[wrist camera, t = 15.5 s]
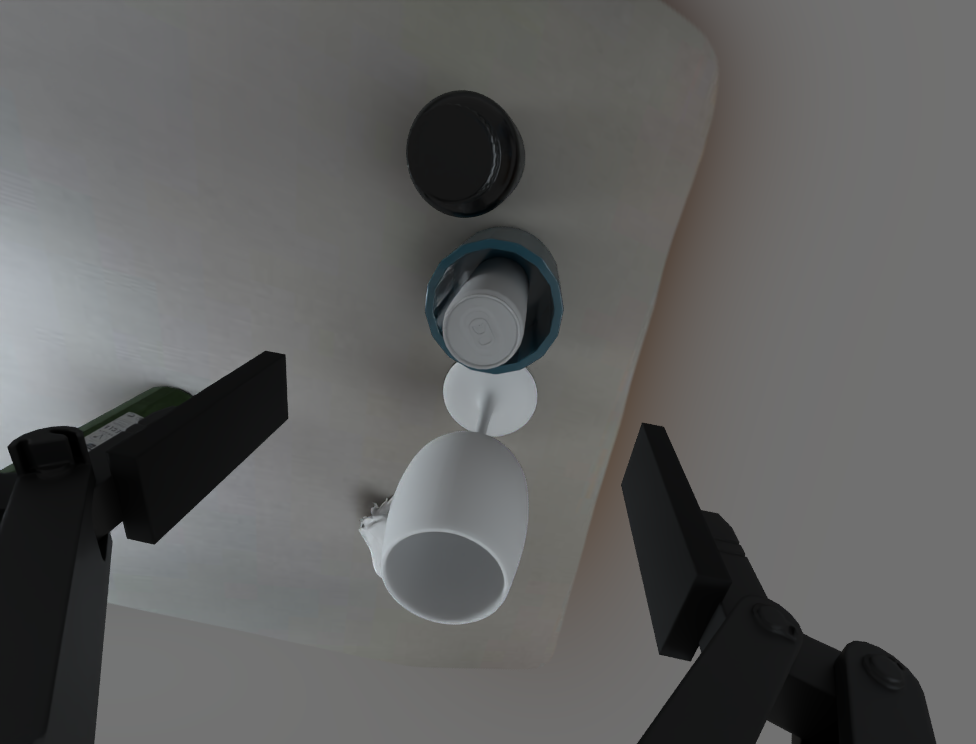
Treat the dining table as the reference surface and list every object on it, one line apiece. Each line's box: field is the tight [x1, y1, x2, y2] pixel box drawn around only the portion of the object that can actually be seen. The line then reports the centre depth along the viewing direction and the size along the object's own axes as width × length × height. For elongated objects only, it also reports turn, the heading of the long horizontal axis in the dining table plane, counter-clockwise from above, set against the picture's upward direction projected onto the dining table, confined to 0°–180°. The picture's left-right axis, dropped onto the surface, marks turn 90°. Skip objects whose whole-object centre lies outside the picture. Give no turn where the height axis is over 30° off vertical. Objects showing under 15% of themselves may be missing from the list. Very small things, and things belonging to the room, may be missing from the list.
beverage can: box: [443, 257, 529, 369], centre depth 31 cm, size 5×5×12 cm
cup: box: [425, 226, 564, 374], centre depth 34 cm, size 9×9×8 cm
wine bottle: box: [0, 387, 192, 473], centre depth 33 cm, size 8×8×30 cm
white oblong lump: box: [359, 496, 394, 578], centre depth 47 cm, size 5×7×10 cm
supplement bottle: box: [406, 90, 525, 218], centre depth 29 cm, size 7×7×12 cm
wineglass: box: [381, 362, 537, 624], centre depth 32 cm, size 9×9×21 cm
